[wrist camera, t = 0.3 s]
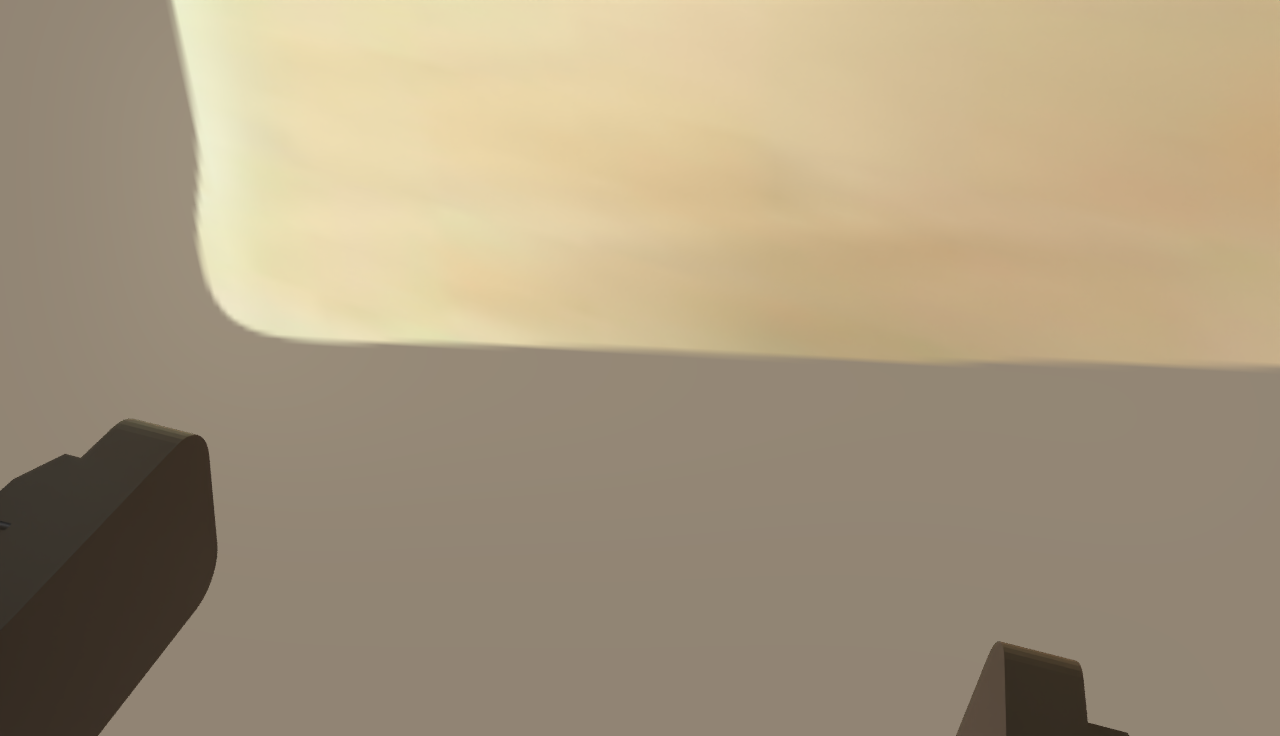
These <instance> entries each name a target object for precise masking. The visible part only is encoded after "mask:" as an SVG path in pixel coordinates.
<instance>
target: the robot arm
mask: <svg viewBox="0 0 1280 736" xmlns="http://www.w3.org/2000/svg"><path fill="white" fill-rule="evenodd" d="M216 537H217V536H216V527H215V516H214V505H213V493H212V482H211V471H210V460H209V452H208V447H207V444H206V442H205V440H204V439H203V438H202V437H201V436H198V435H195V434H191V433H187V432H183V431H179V430H175V429H172V428H168V427H164V426H160V425H156V424H152V423H148V422H144V421H140V420H136V419H126V420H123V421H121V422H119V423H118V424H117V425H116V426H114V427H113V428H112V429H111V430H110V431H109V432H108V433H107V434H106V435H105V436H103V438H101V439H100V440H99V441H98V442H97V443H96V444H95V445H94V446H93V447H92V448H91V449H90V450H89V451H88V452H87V453H86V454H85V455H83V456H82V457H81V458H79V457H75V456H71V455H67V454H64V455H62V456H60V457H58V458H56V459H54V460H52V461H50V462H48V463H46V464H43V465H42V466H39V467H37V468H35V469H33V470H31V471H29V472H27V473H25V474H23V475H21V476H19V477H17V478H15V479H13V480H12V481H11V482H10V483H9V484H7V486H5V487H4V488H3V489H2V490H1V491H0V736H98V735H99V734H100V732H101V731H102V730H103V728H104V727H105V726H106V725H107V723H108V722H109V721H110V719H111V718H112V717H113V716H114V714H115V713H116V712H117V710H118V709H119V708H120V706H121V705H122V704H123V703H124V701H125V700H126V699H127V698H128V696H129V695H130V694H131V692H132V691H133V690H134V688H135V687H136V686H137V685H138V683H139V682H140V681H141V680H142V678H143V677H144V676H145V674H146V673H147V672H148V671H149V669H150V668H151V667H152V665H153V664H154V663H155V662H156V660H157V659H158V658H159V656H160V655H161V654H162V653H163V651H164V650H165V649H166V647H167V646H168V645H169V644H170V642H171V641H172V640H173V638H174V637H175V636H176V635H177V633H178V632H179V631H180V629H181V628H182V627H183V625H184V624H185V623H186V621H187V620H188V619H189V618H190V617H191V615H192V614H193V613H194V611H195V610H196V609H197V607H198V606H199V604H200V603H201V601H202V600H203V598H204V596H205V594H206V592H207V590H208V588H209V585H210V582H211V579H212V576H213V574H214V570H215V565H216V559H217V538H216ZM956 736H1129V735H1128V733H1126V732H1122V731H1118V730H1114V729H1110V728H1106V727H1103V726H1099V725H1095V724H1091V723H1088V721H1087V710H1086V700H1085V691H1084V680H1083V673H1082V669H1081V666H1080V664H1079V663H1078V662H1077V661H1075V660H1070V659H1066V658H1063V657H1059V656H1055V655H1051V654H1047V653H1043V652H1039V651H1035V650H1031V649H1027V648H1023V647H1020V646H1015V645H1012V644H1008V643H1004V642H997V643H995V645H994V646H993V647H992V649H991V651H990V653H989V655H988V658H987V660H986V663H985V665H984V668H983V670H982V673H981V675H980V678H979V680H978V683H977V685H976V688H975V690H974V693H973V695H972V698H971V700H970V703H969V705H968V708H967V710H966V712H965V715H964V717H963V720H962V722H961V725H960V727H959V730H958V733H957V735H956Z"/></svg>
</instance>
